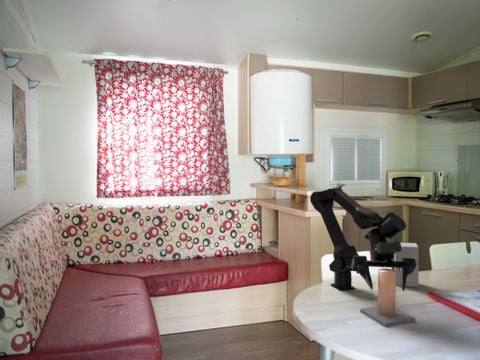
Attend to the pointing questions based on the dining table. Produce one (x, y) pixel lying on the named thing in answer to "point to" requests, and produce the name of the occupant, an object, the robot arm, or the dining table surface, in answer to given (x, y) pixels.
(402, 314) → the mat
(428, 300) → the dining table surface
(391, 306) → the terracotta cylinder
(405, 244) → the skincare box
